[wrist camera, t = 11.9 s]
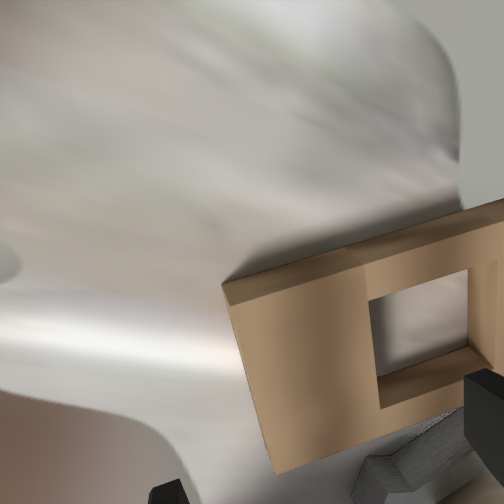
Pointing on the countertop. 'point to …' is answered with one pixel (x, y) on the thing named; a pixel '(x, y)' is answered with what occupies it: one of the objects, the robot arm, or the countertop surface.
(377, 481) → the steel V-block
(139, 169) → the countertop surface
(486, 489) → the birch axle
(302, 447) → the wooden board with cutouts
